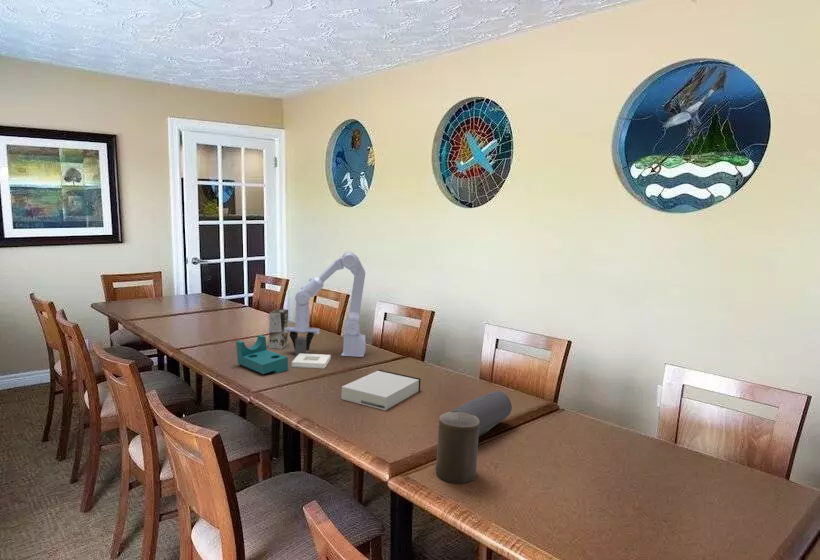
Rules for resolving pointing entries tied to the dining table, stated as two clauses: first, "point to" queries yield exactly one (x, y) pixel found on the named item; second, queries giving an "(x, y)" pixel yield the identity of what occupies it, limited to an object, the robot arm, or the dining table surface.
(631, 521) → the dining table surface
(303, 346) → the plug
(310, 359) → the socket
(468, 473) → the pillar candle
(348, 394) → the disc drive
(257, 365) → the teal l-shaped bracket
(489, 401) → the bluetooth speaker
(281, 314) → the coffee box
